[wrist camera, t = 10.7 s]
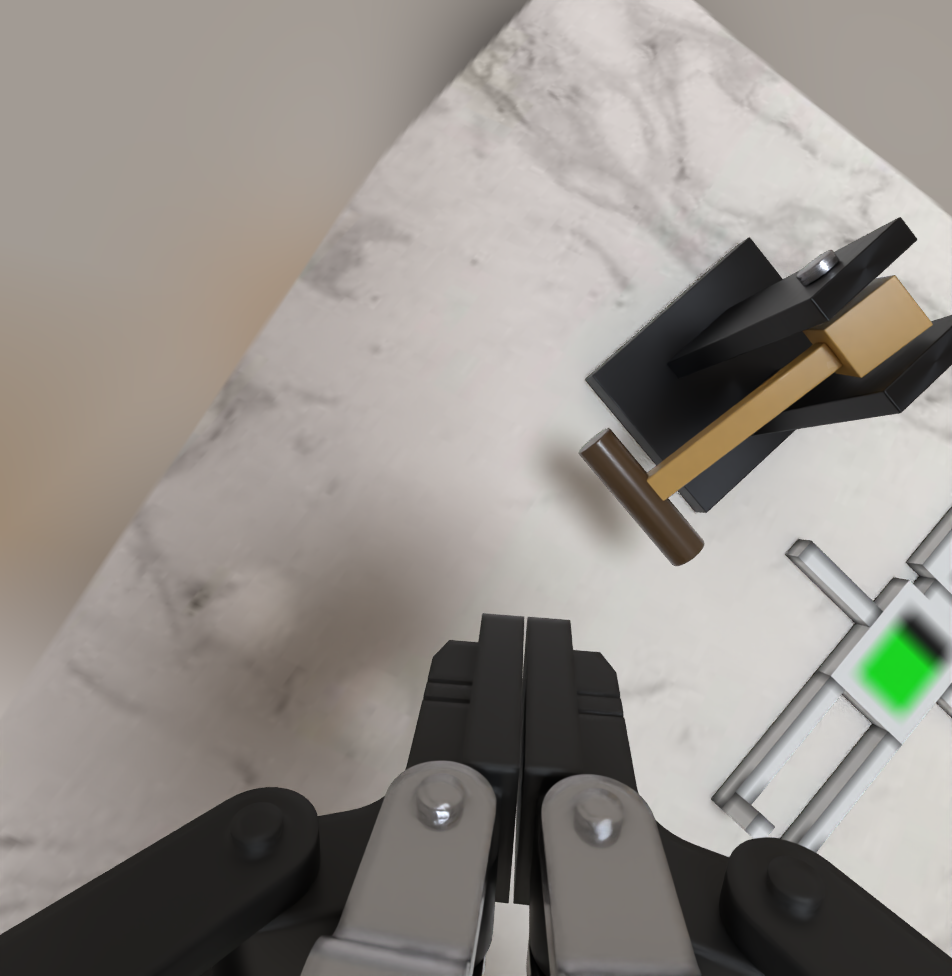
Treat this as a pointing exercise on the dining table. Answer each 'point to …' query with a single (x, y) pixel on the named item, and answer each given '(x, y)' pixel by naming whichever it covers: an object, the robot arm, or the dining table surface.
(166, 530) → the dining table surface
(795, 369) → the lock lever
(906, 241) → the bracket
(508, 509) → the dining table surface
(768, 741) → the robot figure
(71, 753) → the dining table surface
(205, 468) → the dining table surface
